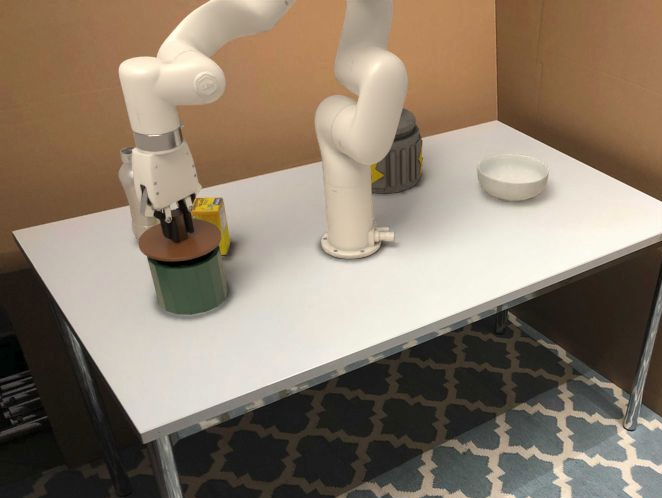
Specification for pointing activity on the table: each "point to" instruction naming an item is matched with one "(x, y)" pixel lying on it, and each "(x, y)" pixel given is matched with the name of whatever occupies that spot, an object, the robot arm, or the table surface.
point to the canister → (190, 283)
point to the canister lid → (180, 240)
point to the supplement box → (213, 218)
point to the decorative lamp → (400, 159)
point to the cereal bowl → (512, 176)
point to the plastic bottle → (133, 195)
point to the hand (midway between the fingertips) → (179, 233)
